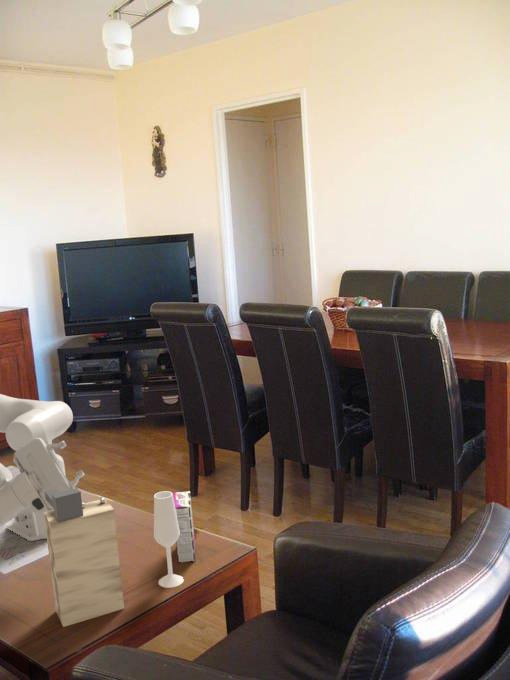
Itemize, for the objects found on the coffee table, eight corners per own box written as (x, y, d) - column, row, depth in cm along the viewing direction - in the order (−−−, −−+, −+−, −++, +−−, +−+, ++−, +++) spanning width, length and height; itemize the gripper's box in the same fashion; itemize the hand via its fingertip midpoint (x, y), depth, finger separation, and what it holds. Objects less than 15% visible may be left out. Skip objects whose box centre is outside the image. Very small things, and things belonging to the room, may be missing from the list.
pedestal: (55, 611, 183) (43, 508, 178) (115, 594, 189) (104, 493, 184) (63, 627, 176) (50, 520, 171) (124, 608, 182) (113, 504, 177)
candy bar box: (177, 545, 214) (173, 491, 211) (195, 543, 214) (190, 490, 211) (177, 563, 203) (172, 507, 200) (195, 562, 203) (190, 506, 200)
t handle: (39, 500, 185) (36, 478, 184) (63, 494, 188) (60, 472, 187) (58, 522, 172) (55, 498, 171) (83, 515, 175) (80, 491, 174)
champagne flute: (174, 589, 190) (166, 501, 185) (153, 584, 193) (144, 497, 188) (188, 577, 195) (181, 491, 191) (168, 572, 199) (160, 488, 194)
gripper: (14, 456, 202) (57, 427, 204) (51, 519, 197) (96, 489, 199) (6, 453, 196) (51, 423, 198) (44, 518, 191) (90, 487, 193)
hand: (73, 457), depth 198 cm, fingers open, 8 cm apart
